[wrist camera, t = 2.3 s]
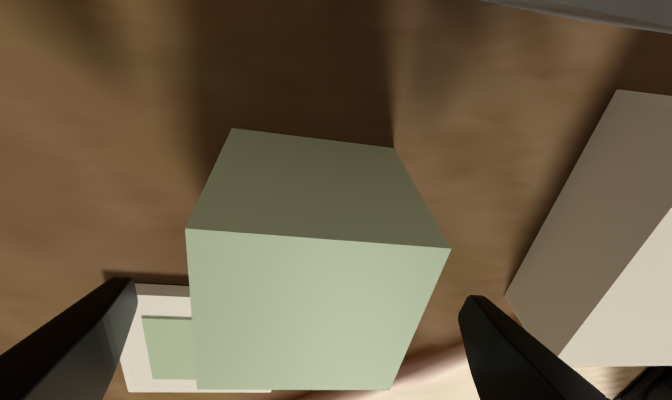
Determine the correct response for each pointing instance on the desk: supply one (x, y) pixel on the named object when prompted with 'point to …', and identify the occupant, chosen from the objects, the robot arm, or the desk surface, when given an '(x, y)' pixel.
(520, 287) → the plinth
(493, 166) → the desk surface
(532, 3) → the slate cube
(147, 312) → the card
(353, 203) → the sage cube
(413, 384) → the desk surface
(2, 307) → the desk surface
